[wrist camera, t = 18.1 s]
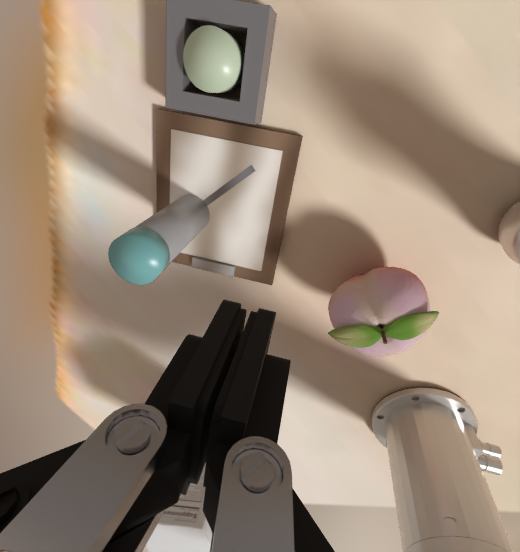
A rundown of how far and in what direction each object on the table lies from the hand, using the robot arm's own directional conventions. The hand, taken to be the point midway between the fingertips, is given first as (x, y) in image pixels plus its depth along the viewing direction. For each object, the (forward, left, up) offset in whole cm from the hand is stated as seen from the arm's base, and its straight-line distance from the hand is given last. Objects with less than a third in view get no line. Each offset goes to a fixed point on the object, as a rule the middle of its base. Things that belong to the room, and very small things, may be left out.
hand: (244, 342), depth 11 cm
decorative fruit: (-10, +10, -25) cm, 29 cm away
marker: (+11, +6, -24) cm, 27 cm away
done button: (+9, -8, -24) cm, 27 cm away
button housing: (+9, -8, -25) cm, 28 cm away
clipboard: (+8, +4, -25) cm, 27 cm away
